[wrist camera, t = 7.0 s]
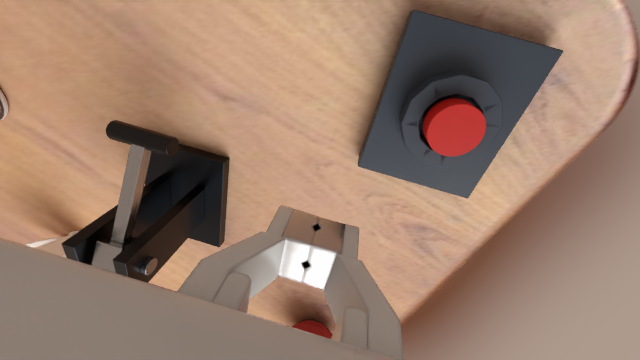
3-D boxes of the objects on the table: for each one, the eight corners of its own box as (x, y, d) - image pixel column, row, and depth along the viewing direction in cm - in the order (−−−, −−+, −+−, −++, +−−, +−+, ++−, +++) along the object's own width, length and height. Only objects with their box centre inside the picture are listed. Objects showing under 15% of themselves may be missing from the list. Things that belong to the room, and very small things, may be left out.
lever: (127, 121, 22) (102, 117, 20) (184, 138, 22) (166, 136, 20) (99, 257, 23) (72, 268, 21) (152, 274, 23) (131, 287, 21)
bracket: (147, 133, 28) (16, 193, 17) (229, 158, 27) (145, 233, 17) (157, 220, 34) (64, 301, 24) (224, 240, 33) (160, 332, 23)
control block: (409, 10, 19) (417, 7, 16) (549, 49, 18) (583, 52, 15) (358, 158, 25) (356, 176, 22) (462, 188, 25) (474, 211, 22)
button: (436, 91, 18) (441, 97, 17) (487, 106, 18) (498, 113, 16) (414, 139, 20) (417, 148, 18) (461, 152, 20) (468, 162, 18)
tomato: (351, 333, 38) (347, 395, 32) (315, 348, 42) (305, 407, 35) (311, 302, 36) (297, 362, 30) (277, 321, 40) (258, 378, 33)
